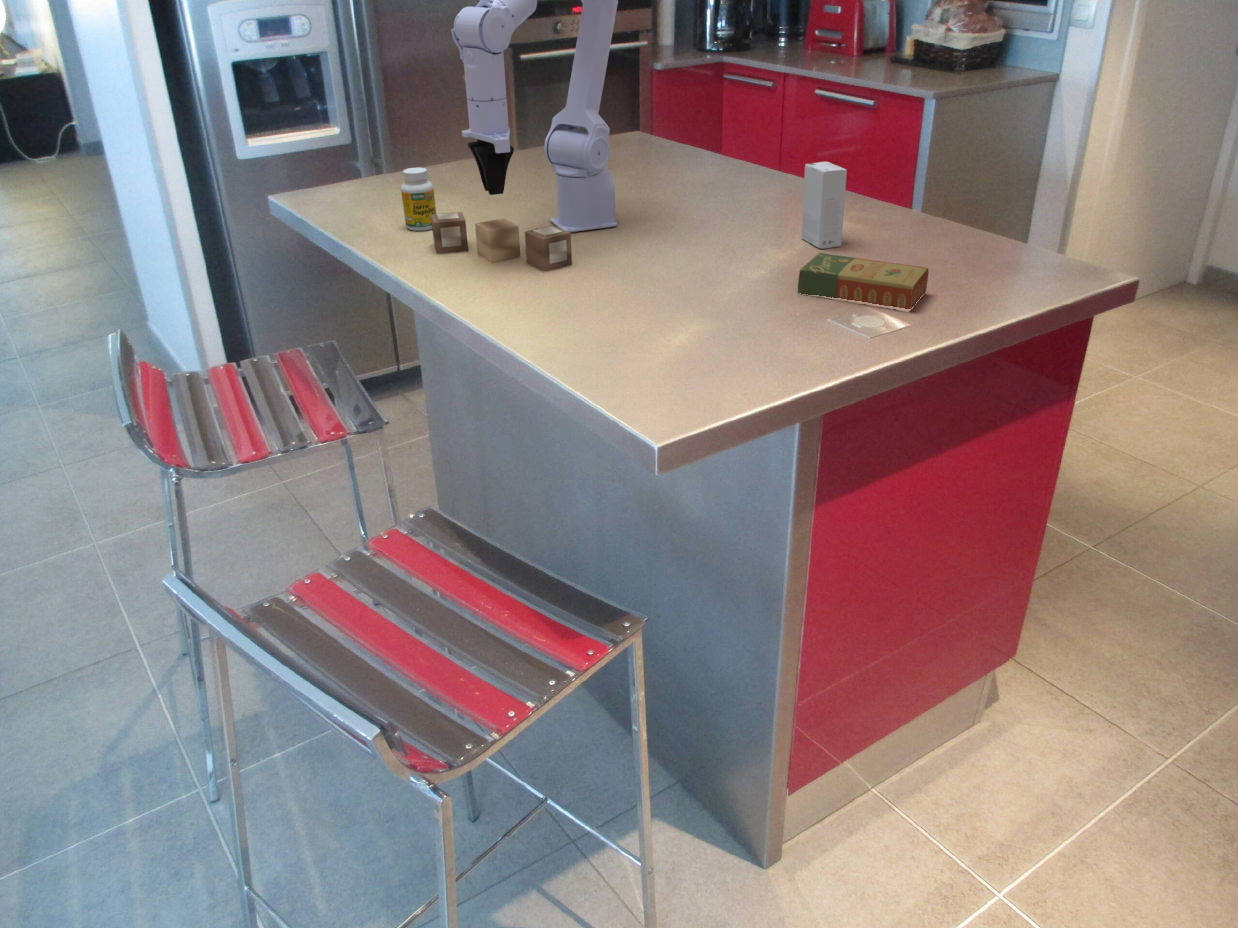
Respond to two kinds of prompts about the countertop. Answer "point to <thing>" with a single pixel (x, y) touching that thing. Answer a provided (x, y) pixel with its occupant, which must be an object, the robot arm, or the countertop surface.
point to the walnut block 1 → (449, 232)
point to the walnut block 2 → (548, 248)
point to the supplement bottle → (417, 199)
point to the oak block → (497, 240)
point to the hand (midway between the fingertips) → (494, 192)
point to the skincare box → (823, 204)
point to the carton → (863, 280)
